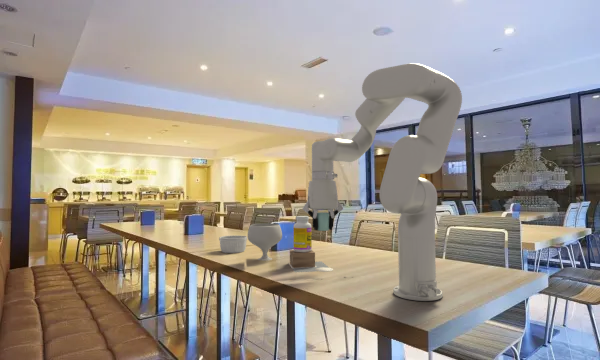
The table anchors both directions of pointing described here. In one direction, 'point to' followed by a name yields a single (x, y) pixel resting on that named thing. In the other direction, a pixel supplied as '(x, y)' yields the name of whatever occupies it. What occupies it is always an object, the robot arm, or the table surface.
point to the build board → (313, 268)
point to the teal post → (323, 221)
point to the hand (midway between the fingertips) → (322, 229)
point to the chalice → (264, 237)
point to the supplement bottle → (302, 235)
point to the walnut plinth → (302, 259)
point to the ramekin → (233, 244)
